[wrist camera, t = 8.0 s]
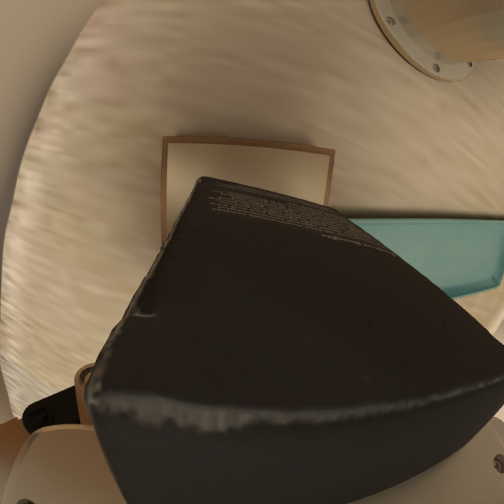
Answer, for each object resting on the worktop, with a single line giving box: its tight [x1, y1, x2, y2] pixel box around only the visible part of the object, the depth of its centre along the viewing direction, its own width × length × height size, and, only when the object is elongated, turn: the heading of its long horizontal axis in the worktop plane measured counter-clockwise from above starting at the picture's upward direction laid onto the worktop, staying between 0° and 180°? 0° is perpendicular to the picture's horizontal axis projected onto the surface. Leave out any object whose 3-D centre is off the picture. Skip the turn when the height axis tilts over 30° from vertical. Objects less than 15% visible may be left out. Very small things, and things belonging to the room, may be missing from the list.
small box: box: [84, 176, 504, 504], centre depth 8 cm, size 11×6×10 cm, turn 166°
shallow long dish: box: [347, 218, 504, 300], centre depth 23 cm, size 26×9×2 cm, turn 91°
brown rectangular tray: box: [161, 136, 335, 245], centre depth 19 cm, size 14×10×4 cm
